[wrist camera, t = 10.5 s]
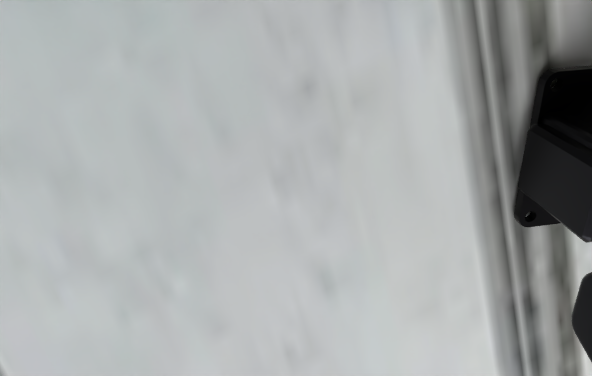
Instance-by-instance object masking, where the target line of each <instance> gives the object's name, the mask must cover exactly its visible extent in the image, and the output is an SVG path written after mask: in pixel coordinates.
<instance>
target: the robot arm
mask: <svg viewBox="0 0 592 376" xmlns="http://www.w3.org/2000/svg"><path fill="white" fill-rule="evenodd" d="M555 79H557V82H556V85H555V86H554V87H553V88H551V83H552V82H553V81H554V80H555ZM518 187H519V190H518V195H517V201H516V206H515V211H514V218H515V219H516V221H517V222H518V223H520V224H521V225H522V226H524V227H534V226H542V225H550V224H558V223H562V224H563V225H564V226H566V227H567V228H568V229H569V230H571V231H572V232H573V233H574V234H576V235H577V236H578V237H579V238H581V239H582V240H583V241H585V242H592V66H581V67H567V68H554V69H550V70H547V71H546V72H545V73H543V75H542V76H541V77H540V79H539V82H538V87H537V92H536V97H535V103H534V108H533V114H532V119H531V125H530V129H529V131H528V134H527V140H526V145H525V151H524V156H523V162H522V167H521V172H520V178H519V183H518ZM528 212H530V214H529V215H528V216H527V217H525V216H526V214H527V213H528ZM572 326H573V329H574V332H575V334H576V336H577V337H578V339H579V341H580V343H581V344H582V346H583V348H584V350H585V351H586V353H587V355H588V357H589V358H590V360H591V362H592V272H591V273H589V274H586V275H585V277H584V278H583V279H582V282H581V285H580V288H579V292H578V295H577V299H576V302H575V305H574V309H573V312H572Z"/></svg>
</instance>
